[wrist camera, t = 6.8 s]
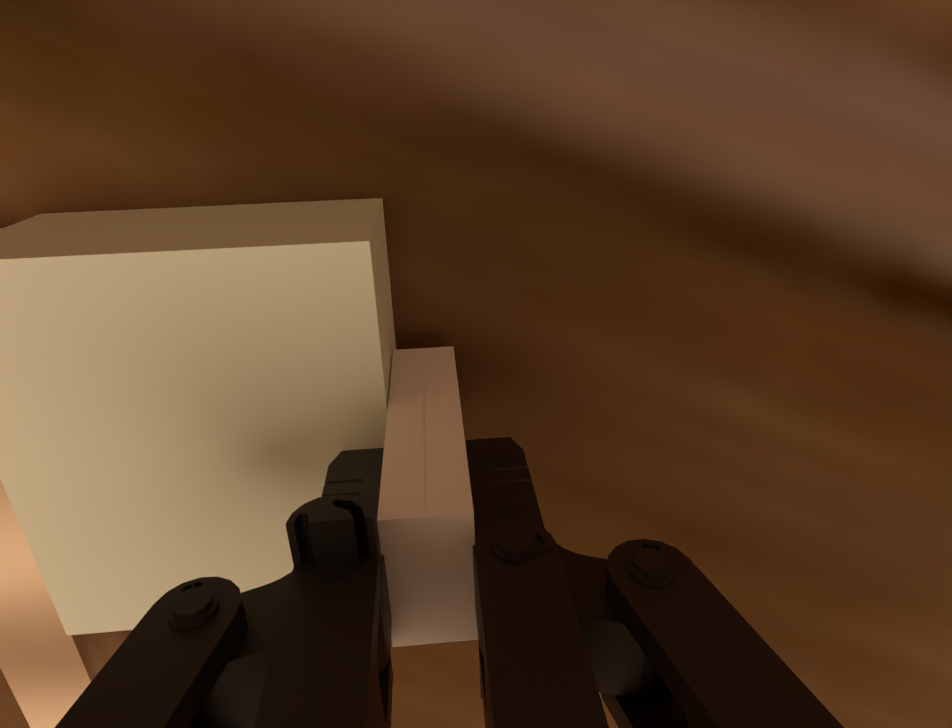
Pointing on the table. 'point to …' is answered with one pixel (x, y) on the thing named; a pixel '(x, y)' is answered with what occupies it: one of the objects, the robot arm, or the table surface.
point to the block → (184, 389)
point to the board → (41, 635)
